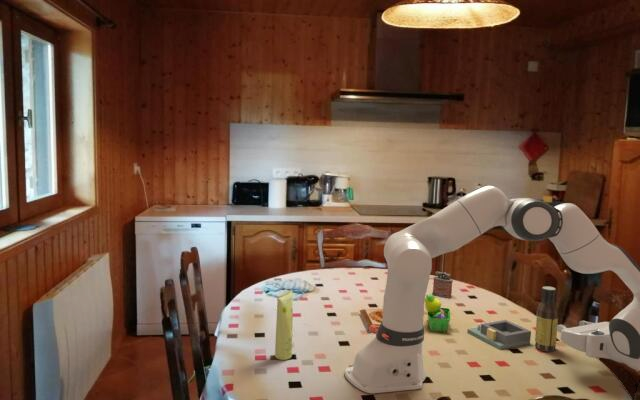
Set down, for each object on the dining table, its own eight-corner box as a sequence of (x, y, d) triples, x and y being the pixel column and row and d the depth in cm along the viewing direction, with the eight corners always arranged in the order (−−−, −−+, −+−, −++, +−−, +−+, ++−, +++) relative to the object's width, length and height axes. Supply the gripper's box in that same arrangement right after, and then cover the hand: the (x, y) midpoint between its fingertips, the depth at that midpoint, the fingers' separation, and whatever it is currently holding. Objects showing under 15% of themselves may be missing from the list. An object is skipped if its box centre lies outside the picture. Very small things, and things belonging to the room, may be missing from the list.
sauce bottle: (549, 344, 174) (555, 285, 171) (559, 352, 167) (565, 291, 165) (530, 344, 173) (536, 284, 171) (538, 352, 167) (544, 290, 164)
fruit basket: (449, 333, 180) (452, 301, 178) (423, 331, 181) (425, 298, 180) (448, 322, 191) (450, 291, 189) (423, 319, 193) (425, 289, 191)
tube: (293, 360, 155) (295, 295, 152) (276, 361, 153) (278, 296, 151) (290, 352, 160) (292, 289, 157) (273, 353, 159) (275, 290, 156)
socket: (502, 345, 168) (502, 336, 168) (477, 332, 178) (478, 324, 178) (530, 340, 174) (531, 331, 173) (505, 328, 183) (505, 319, 183)
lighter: (452, 297, 220) (454, 273, 219) (449, 299, 217) (451, 275, 216) (433, 293, 224) (435, 270, 223) (431, 295, 221) (432, 271, 220)
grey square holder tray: (499, 349, 168) (500, 339, 168) (467, 332, 181) (468, 323, 181) (530, 343, 174) (530, 334, 173) (496, 327, 187) (497, 318, 187)
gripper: (637, 326, 153) (594, 311, 166) (588, 336, 144) (547, 318, 157) (634, 347, 154) (592, 330, 166) (586, 358, 145) (544, 339, 157)
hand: (569, 325), depth 161 cm, fingers open, 8 cm apart
